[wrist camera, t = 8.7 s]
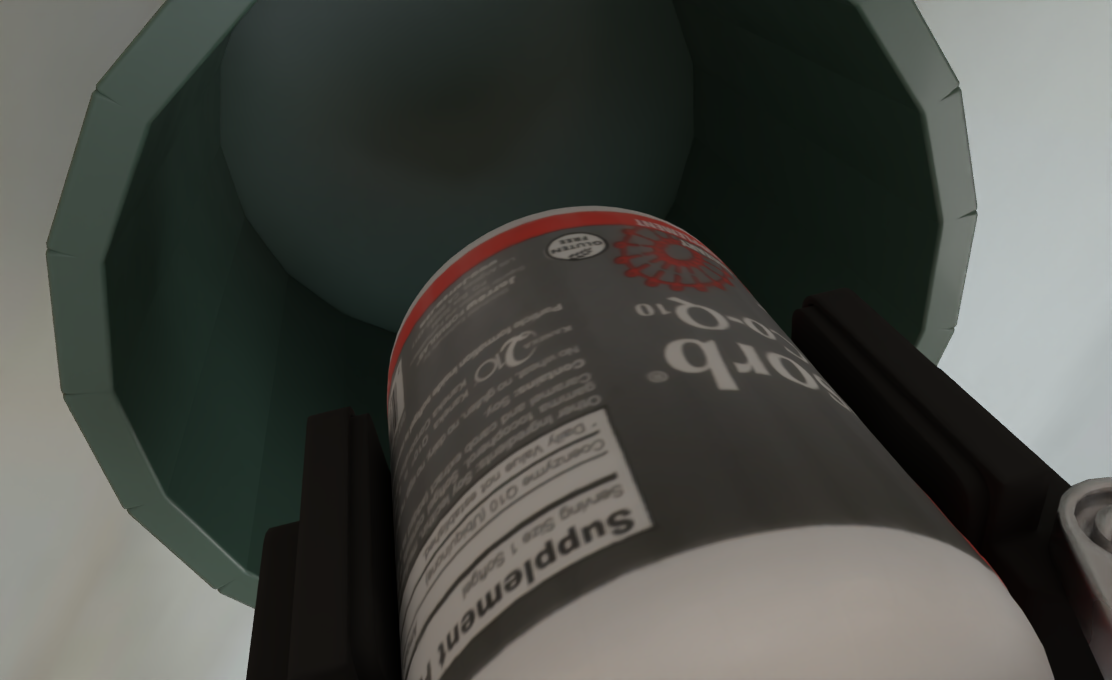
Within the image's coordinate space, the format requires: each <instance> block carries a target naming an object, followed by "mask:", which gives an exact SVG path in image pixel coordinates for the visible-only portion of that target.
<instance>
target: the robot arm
mask: <svg viewBox="0 0 1112 680" xmlns="http://www.w3.org/2000/svg"><path fill="white" fill-rule="evenodd" d="M791 340H792V342H793V343H794V344H795V345H796V346H797V347H798V348H799V350H800V351H801V352H802V353H803V354H804V355H805V357H806V358H807V359H808V360H809V361H810V363H811V364H812V365H813V366H814V367H815V369H816V370H817V371H818V372H819V373H820V374H821V376H822V377H823V378H824V379H825V380H826V381H827V383H828V384H829V385H830V386H831V387H832V388H833V389H834V391H835V392H836V393H837V394H838V395H839V396H840V397H841V398H842V399H843V401H844V402H845V403H846V404H847V405H848V406H849V407H850V408H851V409H852V411H853V412H854V413H855V414H856V415H857V417H858V418H859V419H860V420H861V421H862V422H863V424H864V425H865V426H866V427H867V428H868V429H869V431H870V432H871V433H872V434H873V435H874V436H875V437H876V439H877V440H878V441H879V442H880V443H881V444H882V445H883V447H884V448H885V449H886V450H887V451H888V452H889V453H890V455H891V456H892V457H893V458H894V459H895V460H896V461H897V463H898V464H899V465H900V466H901V467H902V468H903V469H904V471H905V472H906V473H907V474H908V475H909V476H910V477H911V478H912V479H913V480H914V482H915V483H916V484H917V485H918V486H919V487H920V488H921V489H922V490H923V491H924V492H925V493H926V494H927V495H928V496H929V497H930V498H931V500H932V501H933V502H934V503H935V504H936V505H937V507H938V508H939V509H940V510H941V511H942V513H943V514H944V515H945V516H946V517H947V518H948V520H949V521H950V522H951V523H952V524H953V525H954V527H955V528H956V529H957V530H958V531H959V532H960V533H961V534H962V535H963V536H964V537H965V538H966V539H967V540H968V541H969V542H970V543H971V544H972V545H973V547H974V548H975V549H976V550H977V551H978V553H979V554H980V555H981V556H982V557H984V558H985V560H986V561H987V562H988V563H989V565H990V566H991V567H992V568H993V570H994V571H995V572H996V573H997V575H998V576H999V577H1000V579H1001V580H1002V582H1003V583H1004V584H1005V586H1006V588H1007V590H1008V591H1009V593H1010V595H1011V597H1012V598H1013V599H1014V600H1015V602H1016V603H1017V604H1018V606H1019V607H1020V608H1021V609H1022V611H1023V612H1024V614H1025V616H1026V617H1027V619H1028V621H1029V622H1030V624H1031V626H1032V627H1033V629H1034V631H1035V633H1036V634H1037V636H1038V638H1039V640H1040V642H1041V643H1042V645H1043V647H1044V650H1045V653H1046V656H1047V659H1048V662H1049V665H1050V667H1051V670H1052V673H1053V676H1054V679H1055V680H1112V477H1105V478H1096V479H1088V480H1085V481H1083V482H1080V483H1078V484H1075V485H1073V486H1070V485H1069V484H1068V483H1067V482H1066V481H1065V480H1064V479H1063V478H1061V477H1060V476H1059V475H1058V474H1057V473H1056V472H1055V471H1054V470H1053V469H1051V468H1050V467H1049V466H1048V465H1047V464H1046V463H1045V462H1044V461H1043V460H1041V459H1040V458H1039V457H1038V456H1037V455H1036V454H1035V453H1034V452H1033V451H1031V450H1030V449H1029V448H1028V447H1027V446H1026V445H1025V444H1024V443H1023V442H1021V441H1020V440H1019V439H1018V438H1017V437H1016V436H1015V435H1014V434H1012V433H1011V432H1010V431H1009V430H1008V429H1007V428H1006V427H1005V426H1004V425H1002V424H1001V423H1000V422H999V421H998V420H997V419H996V418H995V417H994V416H992V415H991V414H990V413H989V412H988V411H987V410H986V409H985V408H984V407H982V406H981V405H980V404H979V403H978V402H977V401H976V400H975V399H973V398H972V397H971V396H970V395H969V394H968V393H967V392H966V391H965V390H963V389H962V388H961V387H960V386H959V385H958V384H957V383H956V382H955V381H953V380H952V379H951V378H950V377H949V376H948V375H947V374H946V373H945V372H943V371H942V370H941V369H939V368H938V367H937V366H936V365H935V364H934V363H932V362H931V361H930V360H929V359H928V358H927V357H926V356H925V355H924V354H922V353H921V352H920V351H919V350H918V349H917V348H916V347H915V346H914V345H912V344H911V343H910V342H909V341H908V340H907V339H906V338H905V337H904V336H902V335H901V334H900V333H899V332H898V331H897V330H896V329H895V328H894V327H892V326H891V325H890V324H889V323H888V322H887V321H886V320H885V319H884V318H882V317H881V316H880V315H879V314H878V313H877V312H876V311H875V310H874V309H872V308H871V307H870V306H869V305H868V304H867V303H866V302H865V301H863V300H862V299H861V298H860V297H859V296H858V295H857V294H856V293H855V292H853V291H852V290H851V289H849V288H839V289H835V290H831V291H827V292H823V293H818V294H814V295H810V296H807V297H806V298H805V299H804V301H803V303H802V308H800V309H796V310H795V311H794V312H793V315H792V332H791ZM246 680H402V677H401V657H400V636H399V617H398V600H397V583H396V566H395V548H394V528H393V509H392V492H391V473H390V470H389V467H388V465H387V462H386V459H385V456H384V453H383V450H382V447H381V444H380V441H379V438H378V435H377V432H376V429H375V426H374V423H373V421H372V418H371V416H370V414H369V413H366V414H361V415H357V416H356V415H355V413H354V411H353V409H352V407H350V406H348V407H344V408H340V409H336V410H332V411H327V412H323V413H319V414H315V415H311V416H309V417H308V419H307V426H306V439H305V453H304V466H303V479H302V492H301V505H300V518H299V521H296V522H292V523H288V524H284V525H280V526H276V527H272V528H269V529H268V531H267V532H266V533H265V538H264V542H263V549H262V557H261V565H260V573H259V581H258V589H257V597H256V605H255V613H254V621H253V629H252V637H251V645H250V653H249V661H248V669H247V677H246Z"/></svg>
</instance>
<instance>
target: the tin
mask: <svg viewBox="0 0 1112 680" xmlns="http://www.w3.org/2000/svg"><path fill="white" fill-rule="evenodd" d="M577 206H606V207H616V208H622V209H628V210H633V211H638V212H641V213H645V214H648V215H651V216H654V217H657V218H659V219H662V220H665V221H667V222H669V223H671V224H673V225H675V226H677V227H679V228H681V229H683V230H684V231H686V232H687V233H689V234H690V235H692V236H693V237H695V238H696V239H697V240H699V241H700V242H701V243H702V244H704V245H705V246H706V247H707V248H708V249H710V250H711V251H712V252H713V253H714V254H715V255H716V256H717V257H718V258H719V259H720V260H721V261H722V262H723V263H724V264H725V265H726V266H727V267H728V268H729V269H730V270H731V271H732V272H733V273H734V275H735V276H736V277H737V278H738V279H739V280H740V281H741V283H742V284H743V285H744V286H745V287H746V288H747V289H748V290H749V292H750V293H751V294H752V295H753V297H754V298H755V299H756V300H757V301H758V303H759V304H760V305H761V306H762V307H763V308H764V309H765V311H766V312H767V313H768V314H769V315H770V316H771V318H772V319H773V320H774V321H775V322H776V323H777V324H778V326H779V327H780V328H781V329H782V330H783V331H784V332H785V334H786V335H787V336H788V337H789V338H790V339H791V332H792V315H793V312H794V311H795V310H796V309H800V308H802V303H803V301H804V299H805V298H806V297H807V296H810V295H814V294H818V293H823V292H827V291H831V290H835V289H839V288H849V289H851V290H852V291H853V292H855V293H856V294H857V295H858V296H859V297H860V298H861V299H862V300H863V301H865V302H866V303H867V304H868V305H869V306H870V307H871V308H872V309H874V310H875V311H876V312H877V313H878V314H879V315H880V316H881V317H882V318H884V319H885V320H886V321H887V322H888V323H889V324H890V325H891V326H892V327H894V328H895V329H896V330H897V331H898V332H899V333H900V334H901V335H902V336H904V337H905V338H906V339H907V340H908V341H909V342H910V343H911V344H912V345H914V346H915V347H916V348H917V349H918V350H919V351H920V352H921V353H922V354H924V355H925V356H926V357H927V358H928V359H929V360H930V361H931V362H932V363H934V364H935V365H936V366H937V364H938V362H939V360H940V358H941V356H942V354H943V352H944V350H945V348H946V346H947V344H948V342H949V341H950V339H951V337H952V335H953V333H954V327H955V326H956V325H957V319H958V314H959V309H960V304H961V299H962V293H963V288H964V283H965V278H966V273H967V267H968V262H969V257H970V252H971V246H972V241H973V236H974V231H975V226H976V220H977V211H976V210H977V201H976V194H975V186H974V179H973V172H972V164H971V157H970V150H969V143H968V135H967V128H966V121H965V114H964V106H963V99H962V92H961V89H960V87H959V81H958V79H957V77H956V75H955V74H954V72H953V70H952V68H951V66H950V65H949V63H948V61H947V59H946V58H945V56H944V54H943V52H942V50H941V49H940V47H939V45H938V43H937V41H936V40H935V38H934V36H933V34H932V33H931V31H930V29H929V27H928V25H927V24H926V22H925V20H924V18H923V16H922V15H921V13H920V11H919V9H918V8H917V6H916V4H915V2H914V0H166V1H165V2H164V4H163V5H162V6H161V7H160V8H159V10H158V11H157V12H156V13H155V14H154V16H153V17H152V18H151V19H150V20H149V22H148V23H147V24H146V25H145V26H144V28H143V29H142V30H141V31H140V33H139V34H138V35H137V36H136V37H135V39H134V40H133V41H132V42H131V43H130V45H129V46H128V47H127V48H126V49H125V51H124V52H123V53H122V54H121V55H120V57H119V58H118V59H117V60H116V61H115V63H114V64H113V65H112V66H111V67H110V69H109V70H108V71H107V72H106V73H105V75H104V76H103V77H102V78H101V79H100V81H99V82H98V83H97V84H96V90H95V91H94V92H93V93H92V95H91V99H90V102H89V105H88V108H87V112H86V115H85V118H84V121H83V125H82V128H81V131H80V135H79V138H78V141H77V144H76V148H75V151H74V154H73V157H72V161H71V164H70V167H69V170H68V174H67V177H66V180H65V184H64V187H63V190H62V193H61V197H60V200H59V203H58V206H57V210H56V213H55V216H54V220H53V223H52V226H51V229H50V233H49V236H48V239H47V242H46V245H47V248H48V249H47V251H46V260H47V269H48V278H49V287H50V296H51V306H52V315H53V324H54V333H55V342H56V351H57V360H58V369H59V378H60V387H61V391H62V393H64V394H63V398H64V400H65V402H66V404H67V406H68V408H69V410H70V411H71V413H72V415H73V417H74V419H75V421H76V422H77V424H78V426H79V428H80V430H81V432H82V433H83V435H84V437H85V439H86V441H87V443H88V444H89V446H90V448H91V450H92V452H93V454H94V455H95V457H96V459H97V461H98V463H99V465H100V466H101V468H102V470H103V472H104V474H105V476H106V477H107V479H108V481H109V483H110V485H111V487H112V488H113V490H114V492H115V494H116V496H117V498H118V499H119V501H120V503H121V505H122V507H123V508H124V509H127V511H128V513H129V514H130V515H131V516H132V517H133V518H134V519H135V520H137V521H138V522H139V523H140V524H141V525H142V526H143V527H144V528H146V529H147V530H148V531H149V532H150V533H151V534H152V535H153V536H155V537H156V538H157V539H158V540H159V541H160V542H161V543H162V544H164V545H165V546H166V547H167V548H168V549H169V550H170V551H171V552H173V553H174V554H175V555H176V556H177V557H178V558H179V559H181V560H182V561H183V562H184V563H185V564H186V565H187V566H188V567H190V568H191V569H192V570H193V571H194V572H195V573H196V574H197V575H199V576H200V577H201V578H202V579H203V580H204V581H205V582H206V583H208V584H209V585H210V586H211V587H212V588H214V589H218V591H219V592H220V593H221V594H223V595H226V596H228V597H230V598H232V599H234V600H236V601H239V602H241V603H243V604H245V605H247V606H250V607H252V608H254V609H255V605H256V597H257V589H258V581H259V573H260V565H261V557H262V549H263V542H264V538H265V533H266V532H267V531H268V529H269V528H272V527H276V526H280V525H284V524H288V523H292V522H296V521H299V518H300V505H301V492H302V479H303V466H304V453H305V439H306V426H307V419H308V417H309V416H311V415H315V414H319V413H323V412H327V411H332V410H336V409H340V408H344V407H348V406H350V407H352V409H353V411H354V413H355V415H356V416H357V415H361V414H366V413H369V414H370V416H371V418H372V421H373V423H374V426H375V429H376V432H377V435H378V438H379V441H380V444H381V447H382V450H383V453H384V456H385V459H386V462H387V465H388V467H389V470H390V473H391V465H390V448H389V428H388V416H387V385H388V372H389V365H390V358H391V353H392V350H393V346H394V343H395V340H396V336H397V333H398V331H399V329H400V326H401V324H402V322H403V319H404V317H405V315H406V314H407V312H408V310H409V308H410V306H411V304H412V303H413V301H414V300H415V298H416V297H417V295H418V294H419V292H420V291H421V290H422V288H423V287H424V286H425V284H426V283H427V282H428V281H429V279H430V278H431V277H432V276H433V275H434V274H435V273H436V272H437V271H438V270H439V269H440V268H441V267H442V266H443V265H444V264H445V263H446V262H447V261H448V260H449V259H451V258H452V257H453V256H454V255H456V254H457V253H458V252H460V251H461V250H462V249H463V248H465V247H466V246H467V245H469V244H470V243H472V242H474V241H475V240H477V239H478V238H480V237H481V236H483V235H485V234H486V233H488V232H490V231H492V230H494V229H496V228H498V227H500V226H502V225H504V224H507V223H509V222H512V221H514V220H517V219H520V218H523V217H526V216H529V215H532V214H536V213H540V212H544V211H548V210H552V209H559V208H567V207H577Z"/></svg>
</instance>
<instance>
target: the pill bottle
mask: <svg viewBox="0 0 1112 680" xmlns="http://www.w3.org/2000/svg"><path fill="white" fill-rule="evenodd" d="M387 416H388V428H389V448H390V465H391V492H392V509H393V528H394V548H395V566H396V583H397V600H398V617H399V636H400V657H401V677H402V680H1055V679H1054V676H1053V673H1052V670H1051V667H1050V665H1049V662H1048V659H1047V656H1046V653H1045V650H1044V647H1043V645H1042V643H1041V642H1040V640H1039V638H1038V636H1037V634H1036V633H1035V631H1034V629H1033V627H1032V626H1031V624H1030V622H1029V621H1028V619H1027V617H1026V616H1025V614H1024V612H1023V611H1022V609H1021V608H1020V607H1019V606H1018V604H1017V603H1016V602H1015V600H1014V599H1013V598H1012V597H1011V595H1010V593H1009V591H1008V590H1007V588H1006V586H1005V584H1004V583H1003V582H1002V580H1001V579H1000V577H999V576H998V575H997V573H996V572H995V571H994V570H993V568H992V567H991V566H990V565H989V563H988V562H987V561H986V560H985V558H984V557H982V556H981V555H980V554H979V553H978V551H977V550H976V549H975V548H974V547H973V545H972V544H971V543H970V542H969V541H968V540H967V539H966V538H965V537H964V536H963V535H962V534H961V533H960V532H959V531H958V530H957V529H956V528H955V527H954V525H953V524H952V523H951V522H950V521H949V520H948V518H947V517H946V516H945V515H944V514H943V513H942V511H941V510H940V509H939V508H938V507H937V505H936V504H935V503H934V502H933V501H932V500H931V498H930V497H929V496H928V495H927V494H926V493H925V492H924V491H923V490H922V489H921V488H920V487H919V486H918V485H917V484H916V483H915V482H914V480H913V479H912V478H911V477H910V476H909V475H908V474H907V473H906V472H905V471H904V469H903V468H902V467H901V466H900V465H899V464H898V463H897V461H896V460H895V459H894V458H893V457H892V456H891V455H890V453H889V452H888V451H887V450H886V449H885V448H884V447H883V445H882V444H881V443H880V442H879V441H878V440H877V439H876V437H875V436H874V435H873V434H872V433H871V432H870V431H869V429H868V428H867V427H866V426H865V425H864V424H863V422H862V421H861V420H860V419H859V418H858V417H857V415H856V414H855V413H854V412H853V411H852V409H851V408H850V407H849V406H848V405H847V404H846V403H845V402H844V401H843V399H842V398H841V397H840V396H839V395H838V394H837V393H836V392H835V391H834V389H833V388H832V387H831V386H830V385H829V384H828V383H827V381H826V380H825V379H824V378H823V377H822V376H821V374H820V373H819V372H818V371H817V370H816V369H815V367H814V366H813V365H812V364H811V363H810V361H809V360H808V359H807V358H806V357H805V355H804V354H803V353H802V352H801V351H800V350H799V348H798V347H797V346H796V345H795V344H794V343H793V342H792V340H791V339H790V338H789V337H788V336H787V335H786V334H785V332H784V331H783V330H782V329H781V328H780V327H779V326H778V324H777V323H776V322H775V321H774V320H773V319H772V318H771V316H770V315H769V314H768V313H767V312H766V311H765V309H764V308H763V307H762V306H761V305H760V304H759V303H758V301H757V300H756V299H755V298H754V297H753V295H752V294H751V293H750V292H749V290H748V289H747V288H746V287H745V286H744V285H743V284H742V283H741V281H740V280H739V279H738V278H737V277H736V276H735V275H734V273H733V272H732V271H731V270H730V269H729V268H728V267H727V266H726V265H725V264H724V263H723V262H722V261H721V260H720V259H719V258H718V257H717V256H716V255H715V254H714V253H713V252H712V251H711V250H710V249H708V248H707V247H706V246H705V245H704V244H702V243H701V242H700V241H699V240H697V239H696V238H695V237H693V236H692V235H690V234H689V233H687V232H686V231H684V230H683V229H681V228H679V227H677V226H675V225H673V224H671V223H669V222H667V221H665V220H662V219H659V218H657V217H654V216H651V215H648V214H645V213H641V212H638V211H633V210H628V209H622V208H616V207H606V206H577V207H567V208H559V209H552V210H548V211H544V212H540V213H536V214H532V215H529V216H526V217H523V218H520V219H517V220H514V221H512V222H509V223H507V224H504V225H502V226H500V227H498V228H496V229H494V230H492V231H490V232H488V233H486V234H485V235H483V236H481V237H480V238H478V239H477V240H475V241H474V242H472V243H470V244H469V245H467V246H466V247H465V248H463V249H462V250H461V251H460V252H458V253H457V254H456V255H454V256H453V257H452V258H451V259H449V260H448V261H447V262H446V263H445V264H444V265H443V266H442V267H441V268H440V269H439V270H438V271H437V272H436V273H435V274H434V275H433V276H432V277H431V278H430V279H429V281H428V282H427V283H426V284H425V286H424V287H423V288H422V290H421V291H420V292H419V294H418V295H417V297H416V298H415V300H414V301H413V303H412V304H411V306H410V308H409V310H408V312H407V314H406V315H405V317H404V319H403V322H402V324H401V326H400V329H399V331H398V333H397V336H396V340H395V343H394V346H393V350H392V353H391V358H390V365H389V372H388V385H387Z"/></svg>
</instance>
